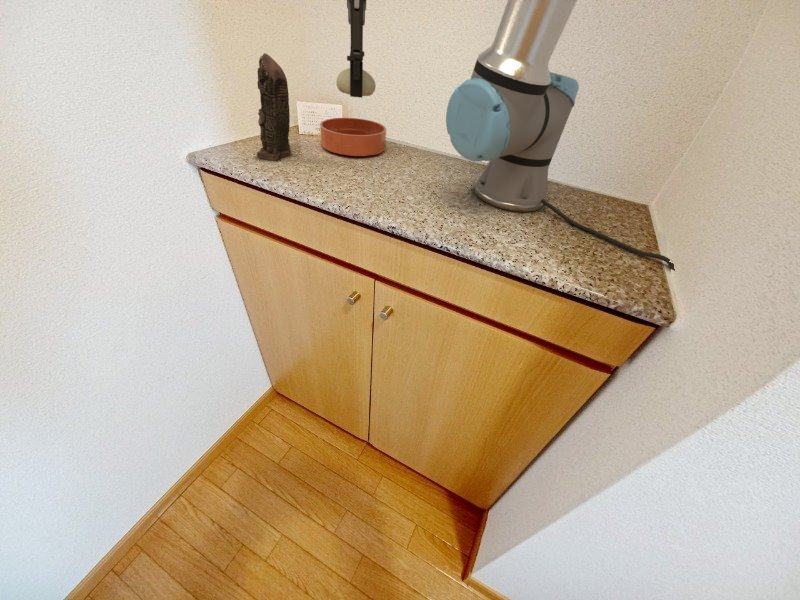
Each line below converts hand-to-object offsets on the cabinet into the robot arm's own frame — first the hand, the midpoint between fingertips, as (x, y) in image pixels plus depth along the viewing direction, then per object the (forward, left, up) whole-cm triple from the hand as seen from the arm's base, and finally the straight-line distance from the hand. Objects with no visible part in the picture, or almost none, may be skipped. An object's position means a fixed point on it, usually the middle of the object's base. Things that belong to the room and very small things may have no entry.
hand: (356, 92), depth 77 cm
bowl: (+3, -2, -14) cm, 14 cm away
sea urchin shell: (0, 0, 0) cm, 0 cm away
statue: (+9, +18, -14) cm, 25 cm away
